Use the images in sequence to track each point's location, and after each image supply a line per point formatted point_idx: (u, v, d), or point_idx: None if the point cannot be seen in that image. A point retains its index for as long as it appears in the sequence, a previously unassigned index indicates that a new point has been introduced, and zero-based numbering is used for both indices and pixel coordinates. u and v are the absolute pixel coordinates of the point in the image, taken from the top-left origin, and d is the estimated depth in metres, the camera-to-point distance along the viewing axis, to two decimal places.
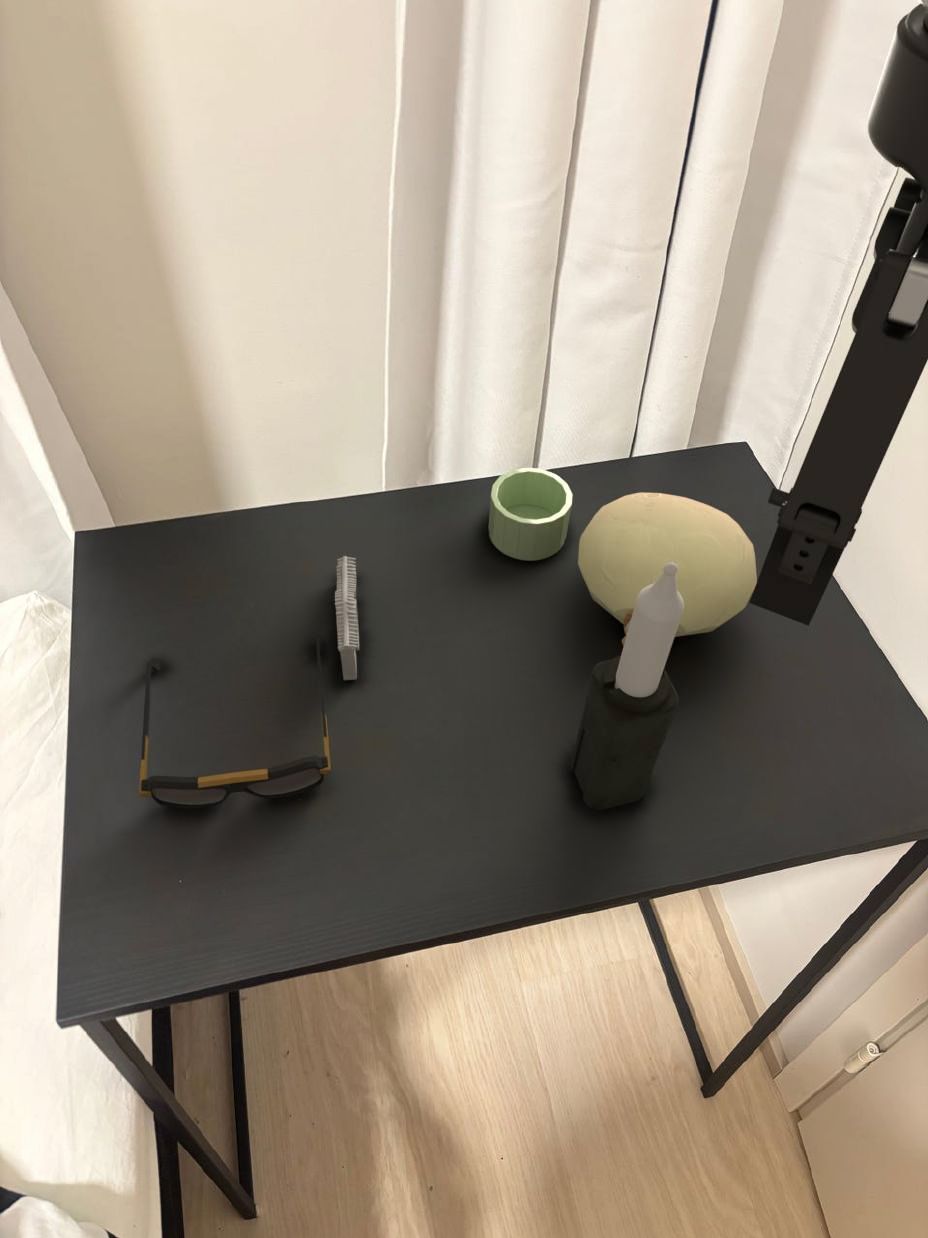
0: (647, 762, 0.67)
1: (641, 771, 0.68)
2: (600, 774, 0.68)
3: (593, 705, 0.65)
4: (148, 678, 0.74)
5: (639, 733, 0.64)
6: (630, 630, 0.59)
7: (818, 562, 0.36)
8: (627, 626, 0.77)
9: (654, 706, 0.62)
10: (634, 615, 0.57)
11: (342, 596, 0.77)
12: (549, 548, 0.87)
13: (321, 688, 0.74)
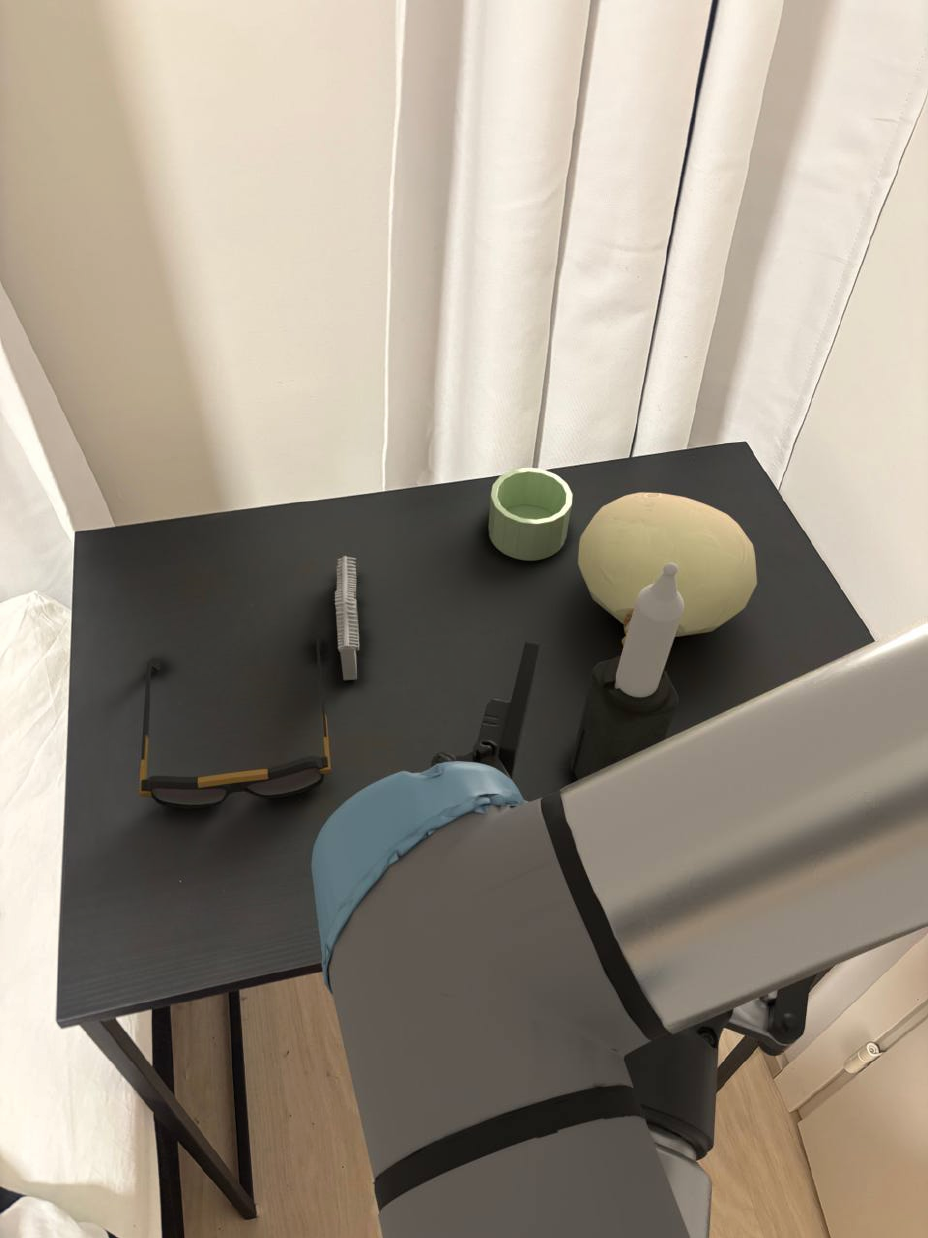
0: None
1: None
2: None
3: (593, 705, 0.65)
4: (148, 678, 0.74)
5: (639, 733, 0.64)
6: (630, 630, 0.59)
7: None
8: (627, 626, 0.77)
9: (654, 706, 0.62)
10: (634, 615, 0.57)
11: (342, 596, 0.77)
12: (549, 548, 0.87)
13: (321, 688, 0.74)
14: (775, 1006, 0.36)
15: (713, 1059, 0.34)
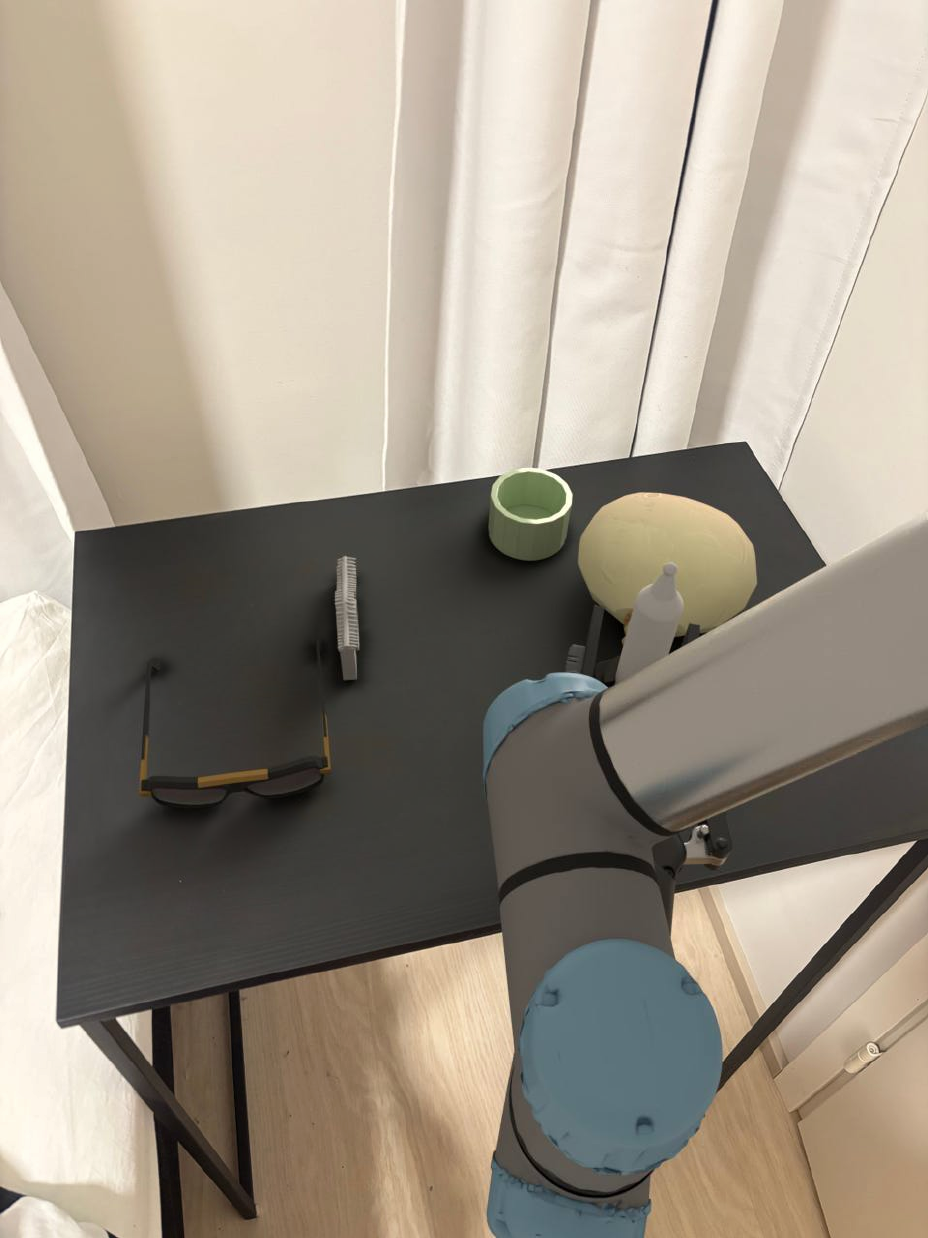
0: None
1: None
2: None
3: None
4: (148, 678, 0.74)
5: None
6: (630, 630, 0.59)
7: None
8: (627, 626, 0.77)
9: None
10: (634, 615, 0.57)
11: (342, 596, 0.77)
12: (549, 548, 0.87)
13: (321, 688, 0.74)
14: (710, 837, 0.55)
15: (671, 883, 0.52)
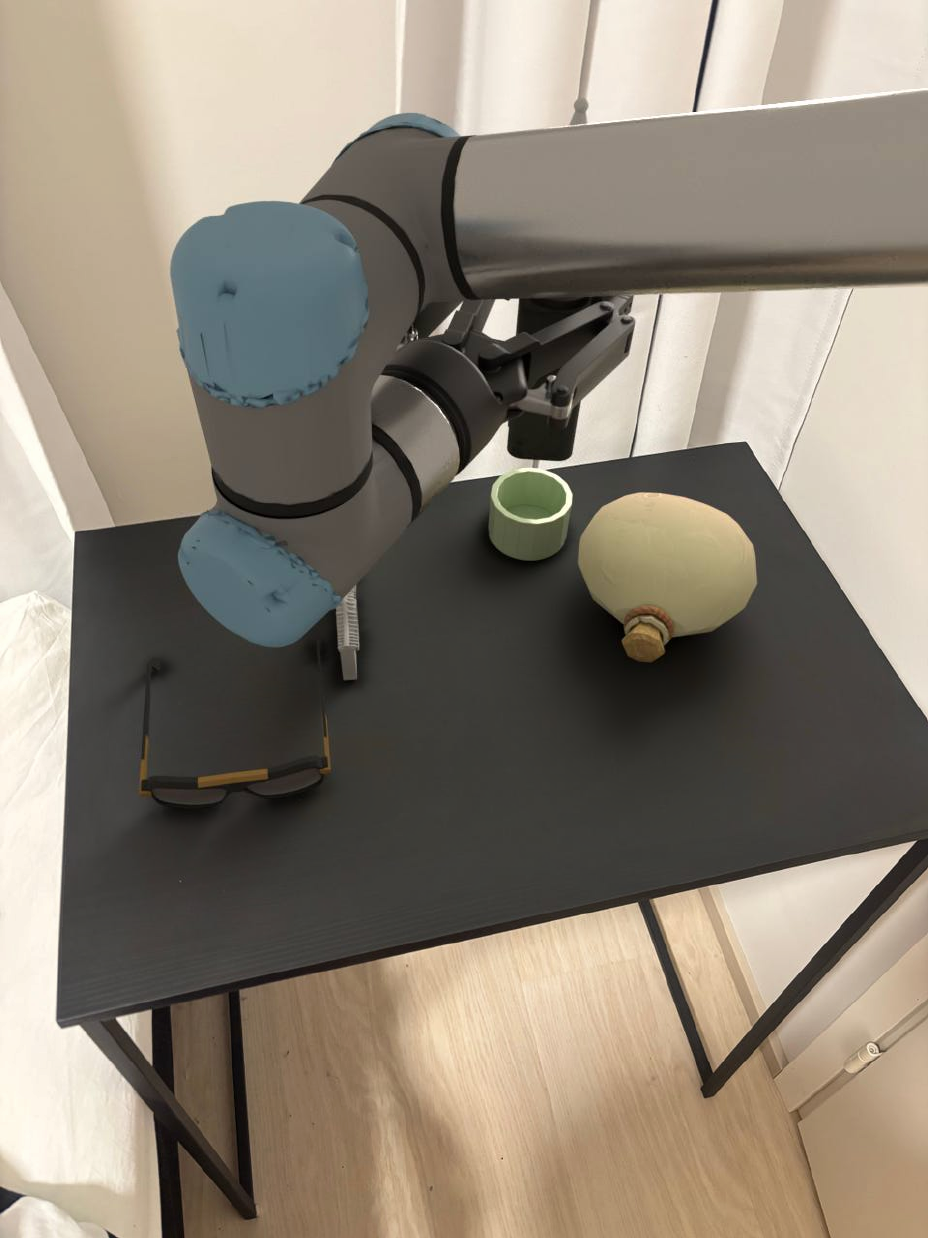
0: None
1: None
2: None
3: None
4: (148, 678, 0.74)
5: None
6: None
7: (627, 300, 0.60)
8: (627, 626, 0.77)
9: (564, 302, 0.61)
10: None
11: None
12: (549, 548, 0.87)
13: (321, 688, 0.74)
14: (553, 384, 0.54)
15: (489, 394, 0.52)
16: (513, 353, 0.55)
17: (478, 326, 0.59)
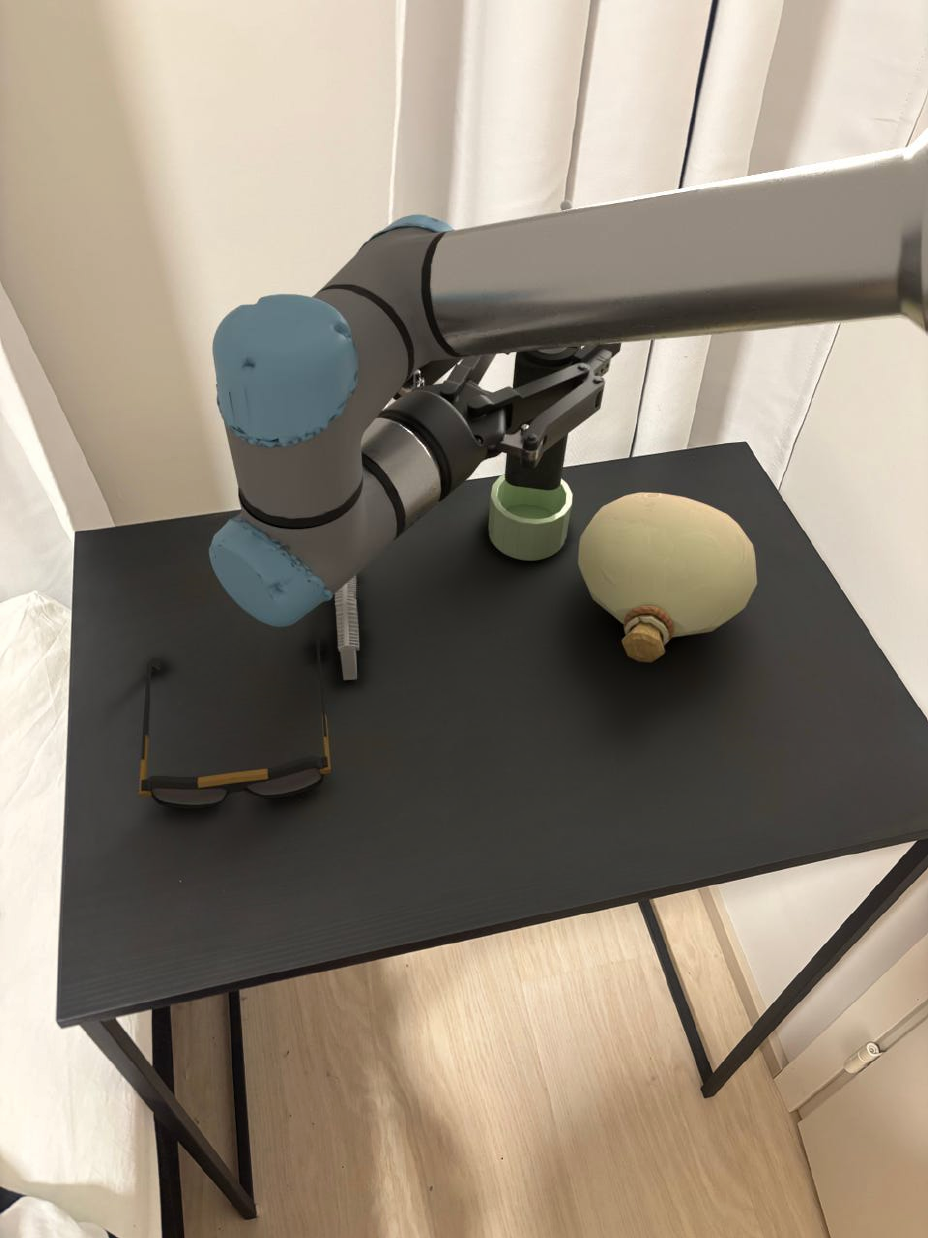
0: None
1: None
2: None
3: None
4: (148, 678, 0.74)
5: None
6: None
7: (604, 362, 0.72)
8: (627, 626, 0.77)
9: (551, 360, 0.72)
10: None
11: (342, 596, 0.77)
12: (549, 548, 0.87)
13: (321, 688, 0.74)
14: (525, 432, 0.66)
15: (470, 437, 0.64)
16: (496, 404, 0.67)
17: (476, 377, 0.71)
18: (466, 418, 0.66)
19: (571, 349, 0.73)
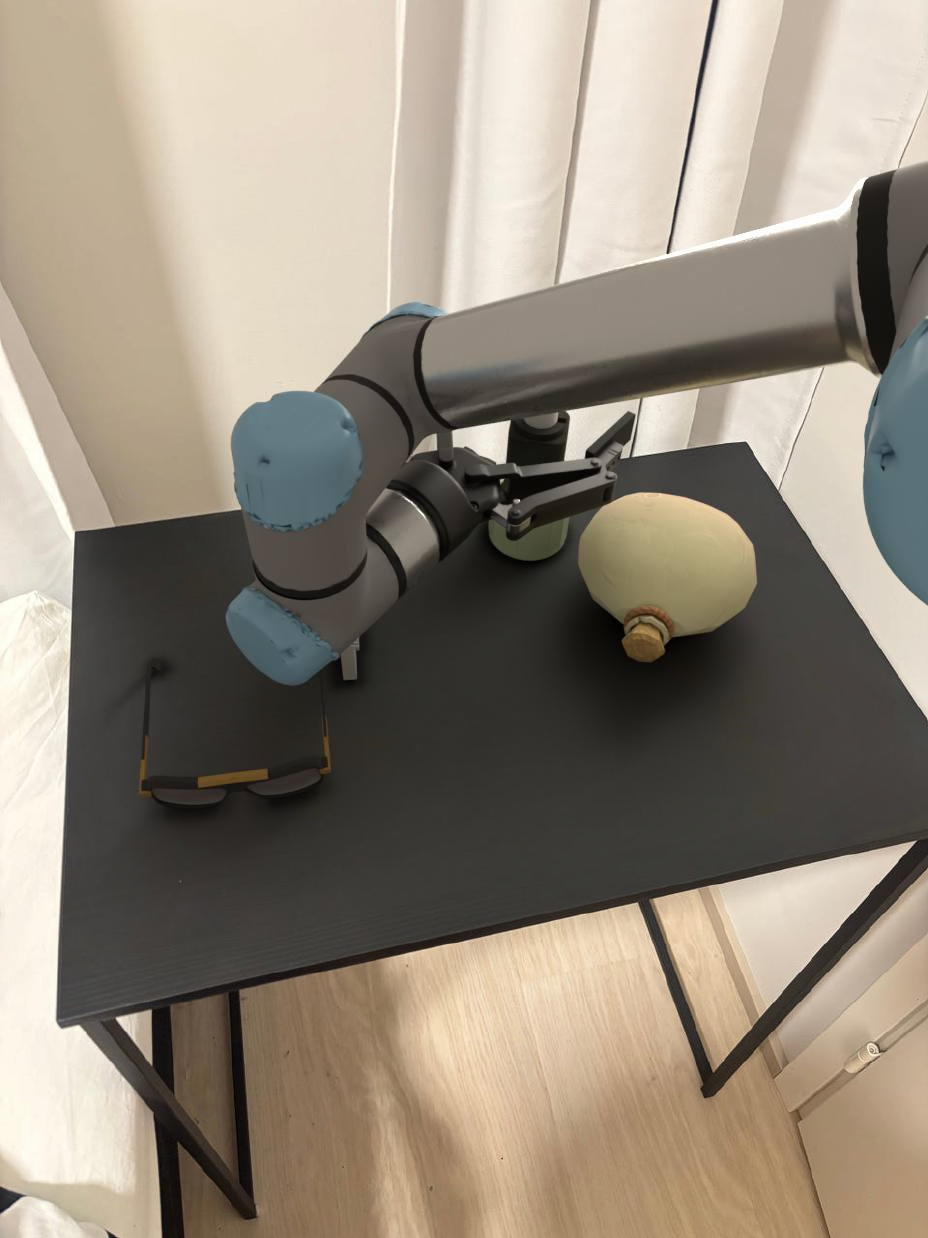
0: None
1: None
2: None
3: None
4: (148, 678, 0.74)
5: (529, 461, 0.80)
6: None
7: (615, 456, 0.75)
8: (627, 626, 0.77)
9: (541, 435, 0.78)
10: None
11: None
12: (549, 548, 0.87)
13: (321, 688, 0.74)
14: (514, 506, 0.70)
15: (466, 504, 0.69)
16: (492, 476, 0.71)
17: None
18: (463, 484, 0.71)
19: (560, 424, 0.79)
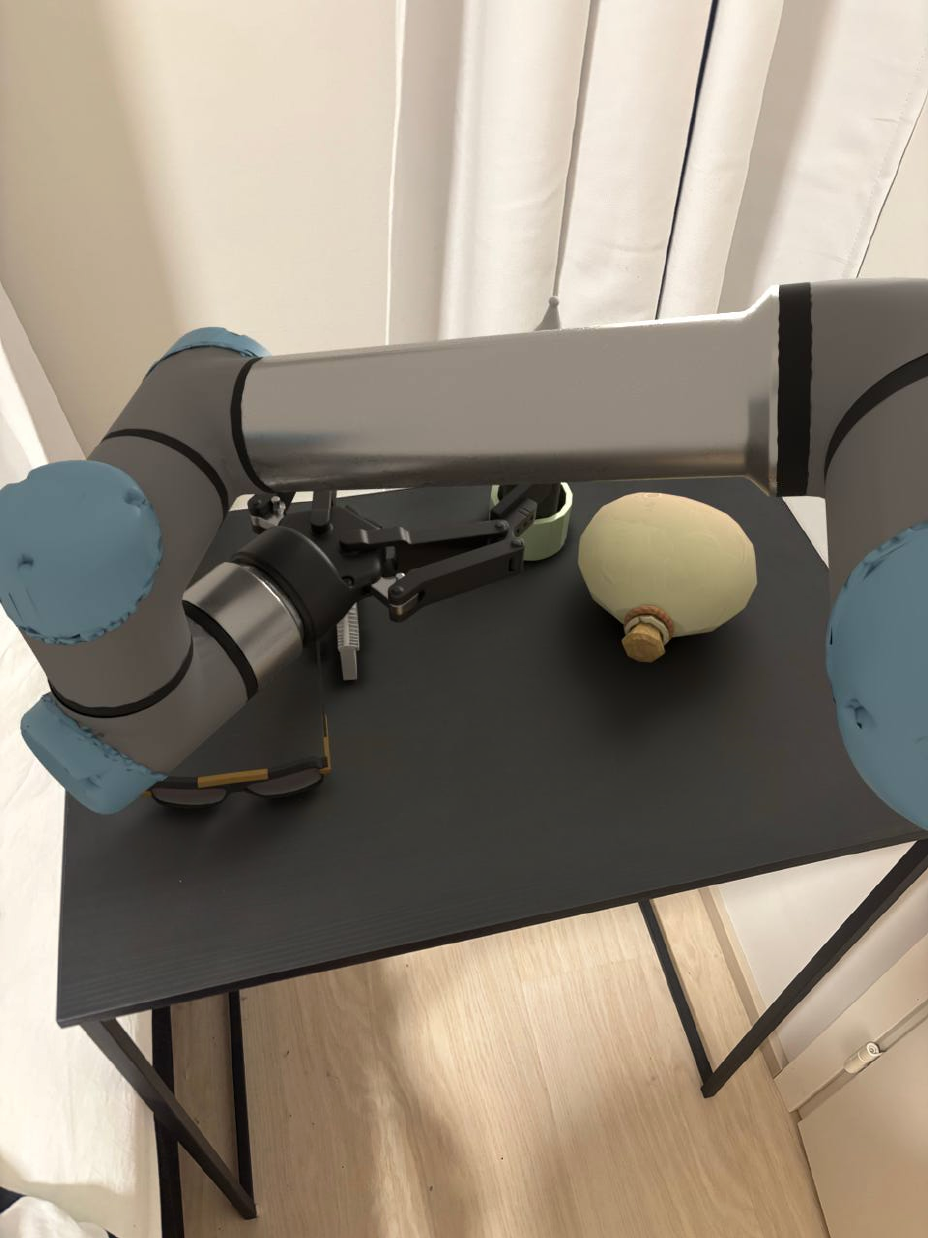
0: (542, 502, 0.84)
1: (538, 510, 0.85)
2: None
3: None
4: None
5: None
6: None
7: (526, 516, 0.62)
8: (627, 626, 0.77)
9: None
10: None
11: None
12: (549, 548, 0.87)
13: (321, 688, 0.74)
14: (396, 582, 0.58)
15: (336, 581, 0.57)
16: (372, 544, 0.59)
17: (334, 492, 0.64)
18: (338, 554, 0.59)
19: None
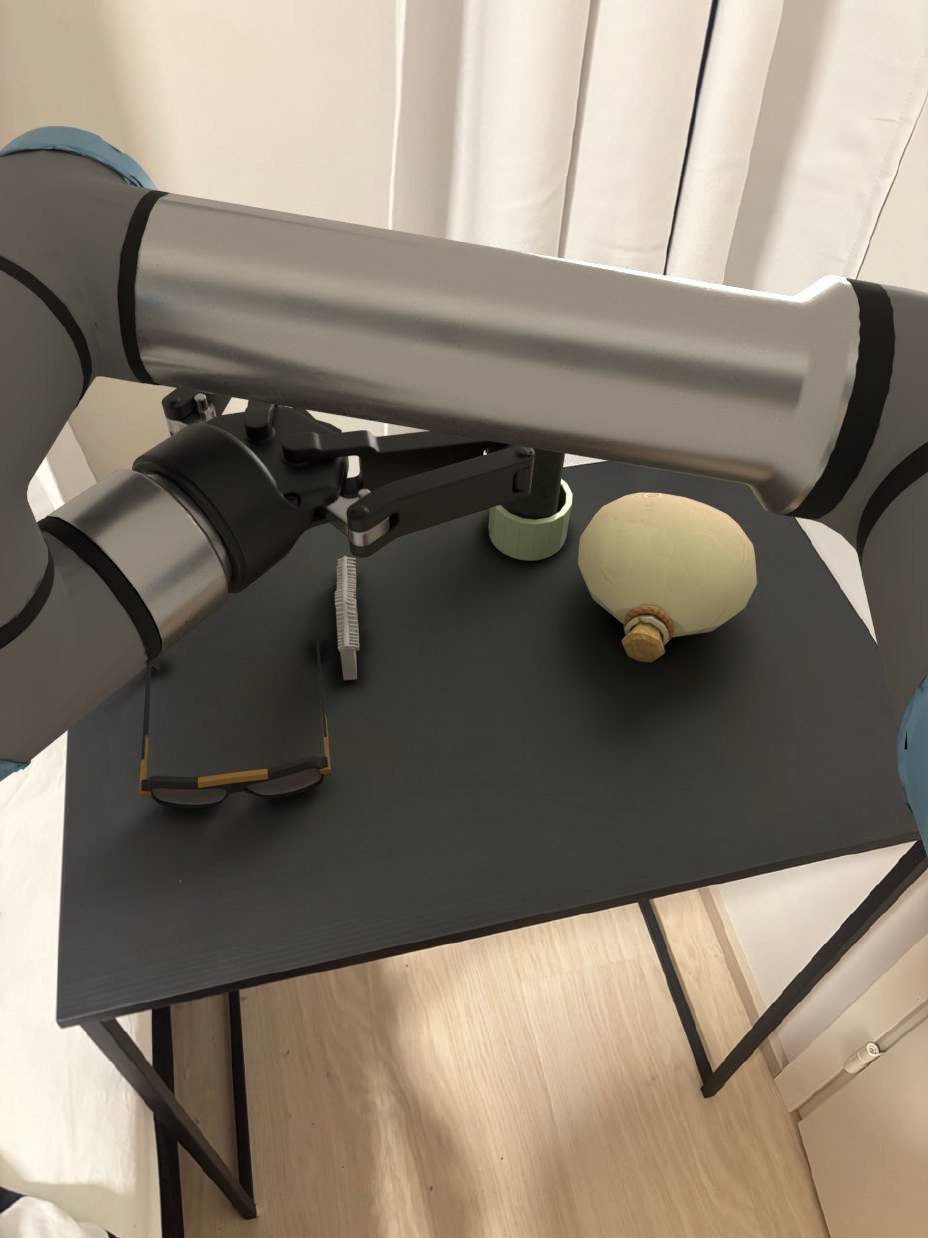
0: (542, 502, 0.84)
1: (538, 510, 0.85)
2: None
3: None
4: (148, 678, 0.74)
5: None
6: None
7: None
8: (627, 626, 0.77)
9: None
10: None
11: (342, 596, 0.77)
12: (549, 548, 0.87)
13: (321, 688, 0.74)
14: (359, 500, 0.42)
15: (275, 498, 0.41)
16: (327, 451, 0.43)
17: None
18: (281, 465, 0.43)
19: None
